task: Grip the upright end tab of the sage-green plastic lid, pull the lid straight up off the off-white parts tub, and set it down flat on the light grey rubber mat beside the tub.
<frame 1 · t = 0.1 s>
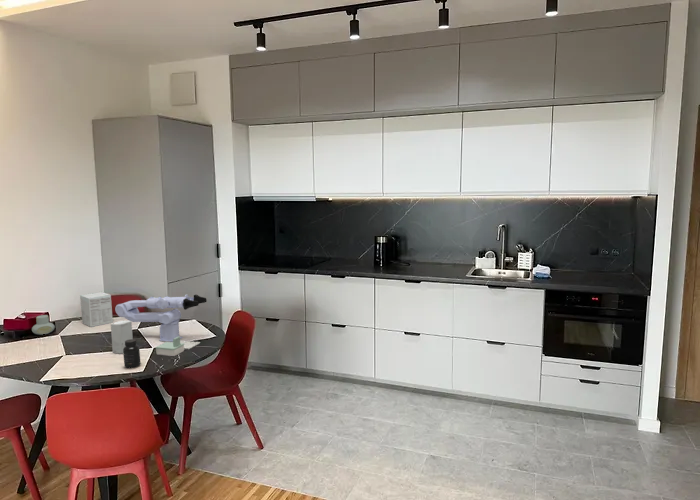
hand: (202, 301, 254), 22 cm above the table, tool horizontal, fingers open, 7 cm apart
supplement box: (97, 323, 296), on the table
mat: (184, 345, 252), on the table
supplement bottle: (132, 366, 223), on the table
lid: (170, 348, 240), point 2 cm above the table, touching tub
air freshener: (43, 333, 276), on the table
tub: (170, 352, 240), on the table
skincare box: (123, 351, 244), on the table
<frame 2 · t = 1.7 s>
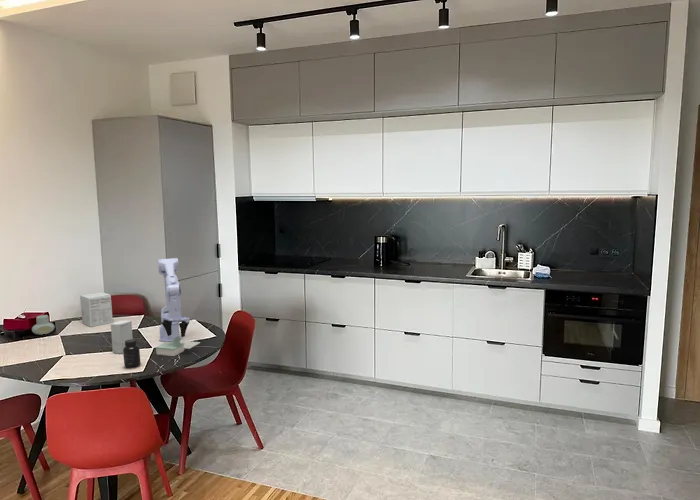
hand: (176, 335, 238), 9 cm above the table, tool pointing down, fingers open, 7 cm apart
nothing on the table moved.
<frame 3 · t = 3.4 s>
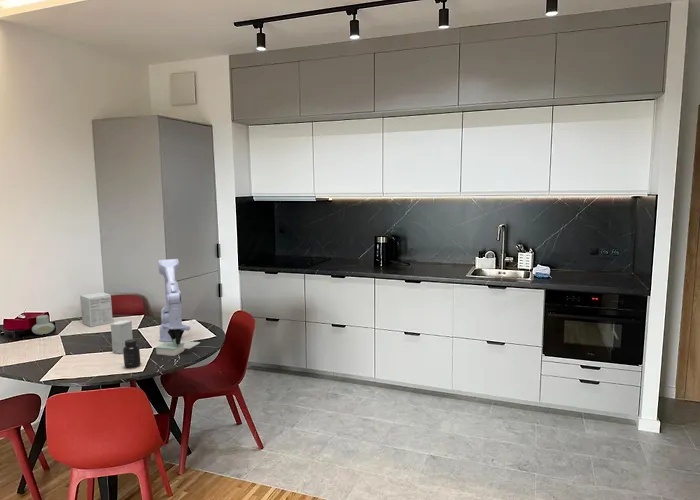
hand: (176, 344, 239), 5 cm above the table, tool pointing down, fingers closed on lid
lid: (170, 348, 240), point 2 cm above the table, touching gripper, tub
everything else where it was.
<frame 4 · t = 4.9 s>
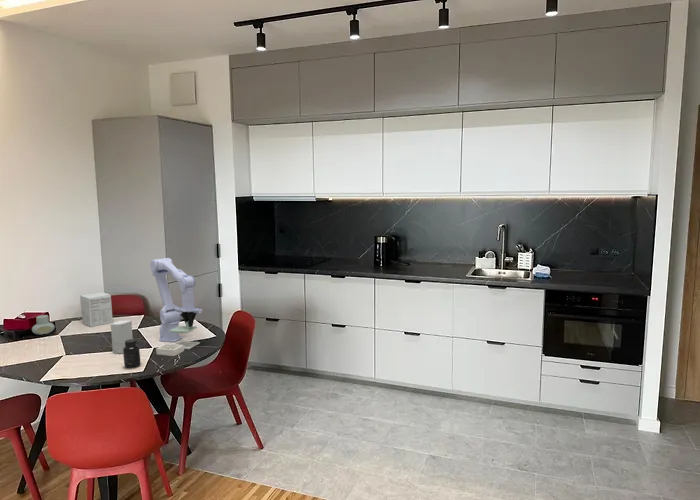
hand: (189, 326, 249), 10 cm above the table, tool pointing down, fingers closed on lid
lid: (183, 331, 250), point 7 cm above the table, touching gripper
everything else where it was.
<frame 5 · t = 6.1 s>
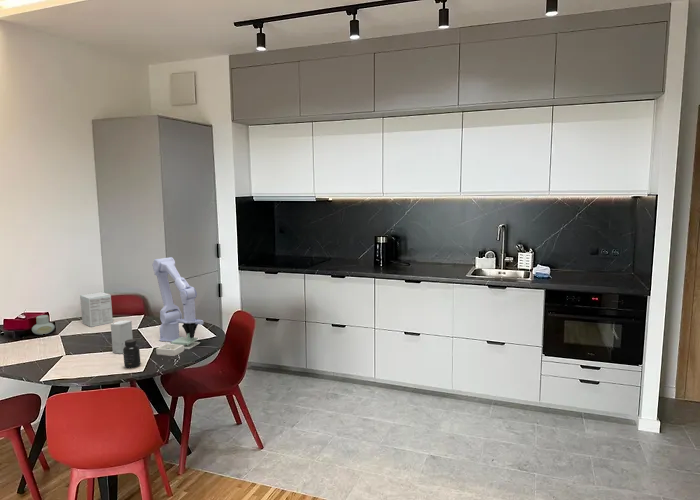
hand: (190, 337, 250), 4 cm above the table, tool pointing down, fingers closed on lid
lid: (184, 342, 251), point 1 cm above the table, touching gripper
everything else where it was.
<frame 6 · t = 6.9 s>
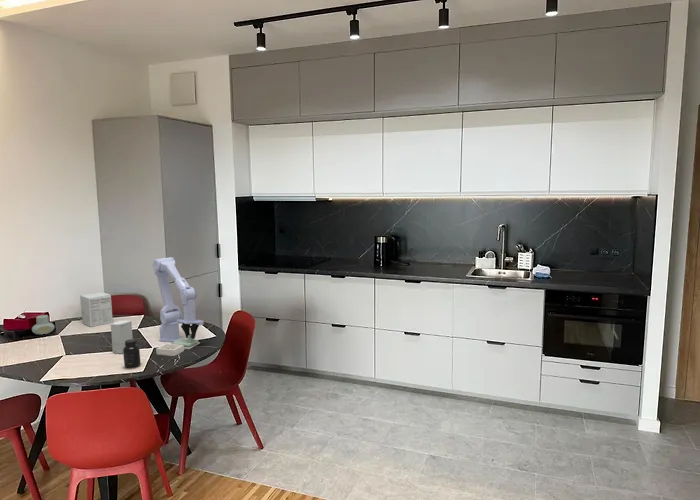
hand: (190, 337, 250), 4 cm above the table, tool pointing down, fingers open, 3 cm apart
lid: (185, 344, 252), resting on mat
everything else where it was.
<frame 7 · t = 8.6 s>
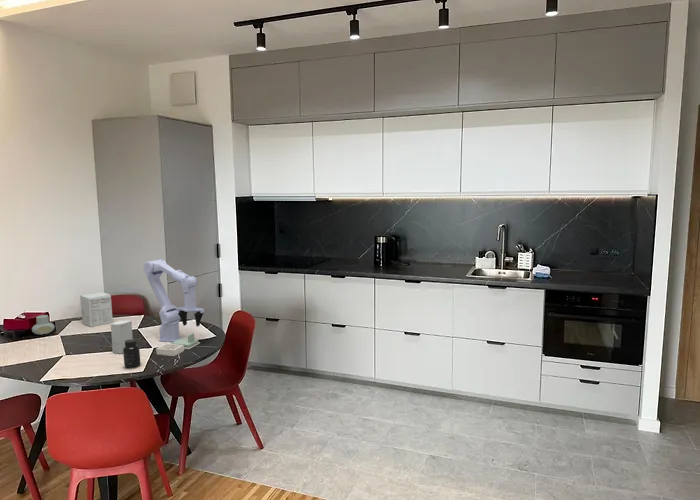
hand: (191, 325, 254), 9 cm above the table, tool pointing down, fingers open, 7 cm apart
nothing on the table moved.
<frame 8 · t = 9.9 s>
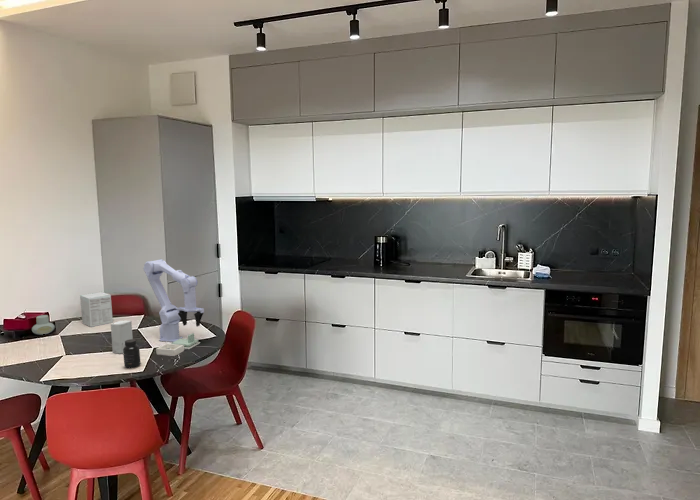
hand: (191, 325, 254), 9 cm above the table, tool pointing down, fingers open, 7 cm apart
nothing on the table moved.
at the end: lid 0.3 cm off-centre on the mat, point 0.4 cm above the mat's base; lid touching mat; lid tilted 0° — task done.
